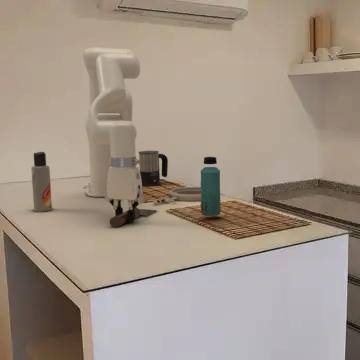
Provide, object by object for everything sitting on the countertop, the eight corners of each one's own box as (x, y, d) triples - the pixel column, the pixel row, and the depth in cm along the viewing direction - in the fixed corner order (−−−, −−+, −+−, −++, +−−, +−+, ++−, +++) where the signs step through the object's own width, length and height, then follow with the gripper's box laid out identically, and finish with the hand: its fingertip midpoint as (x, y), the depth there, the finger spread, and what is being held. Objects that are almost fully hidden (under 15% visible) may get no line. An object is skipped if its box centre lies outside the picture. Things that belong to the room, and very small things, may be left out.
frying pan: (138, 195, 183) (190, 184, 204) (138, 203, 183) (191, 191, 205) (169, 201, 172) (222, 189, 194) (170, 210, 173) (222, 196, 195)
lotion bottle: (55, 209, 171) (52, 151, 167) (42, 212, 166) (39, 153, 162) (43, 207, 173) (39, 150, 170) (30, 210, 168) (26, 152, 165)
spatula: (140, 210, 170) (139, 201, 169) (156, 211, 168) (156, 202, 168) (105, 226, 148) (105, 216, 147) (123, 228, 146) (123, 217, 146)
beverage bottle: (223, 216, 161) (223, 156, 158) (216, 221, 155) (216, 158, 151) (205, 215, 163) (205, 155, 160) (197, 219, 157) (196, 157, 154)
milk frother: (150, 186, 215) (149, 153, 212) (123, 183, 223) (122, 150, 221) (171, 182, 227) (170, 150, 224) (145, 179, 235) (144, 148, 233)
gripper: (153, 162, 152) (154, 220, 155) (105, 160, 156) (108, 216, 159) (142, 165, 145) (144, 226, 148) (92, 163, 149) (95, 222, 152)
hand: (125, 220), depth 154 cm, fingers closed on spatula, 3 cm apart
